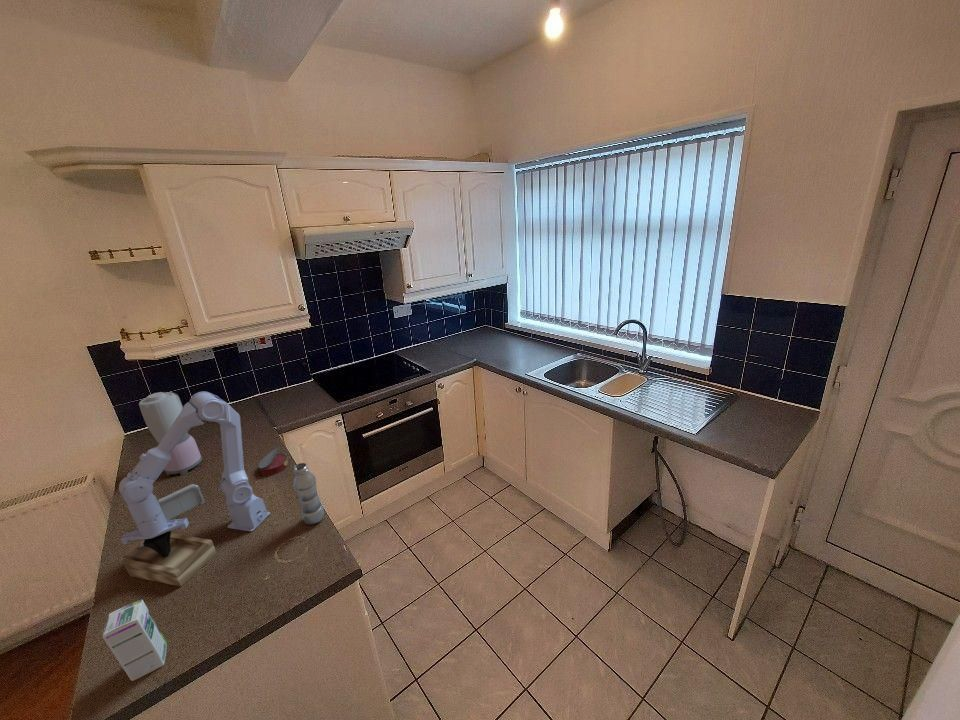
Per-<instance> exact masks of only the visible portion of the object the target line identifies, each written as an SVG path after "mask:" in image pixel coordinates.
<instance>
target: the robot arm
mask: <svg viewBox="0 0 960 720" xmlns="http://www.w3.org/2000/svg"><path fill="white" fill-rule="evenodd" d="M203 421H207V422H215V423H218V424H219V429H220V439H221V450H222V451H221V452H222V461H223V462H222V463H223V471H222V473H221V476H222V478H221V481H220V484H219V490H220V491H221V492H222V493H223V494H224V495H225V496H226V497H225V498H226V499H225V504H226V507H227V509H228V512H229V515H230V518H231V523H229V524H228V525H227V528H228V529H233V530H239V531H243V532H244V531H245V532H253V531H254V530H255V529H256V528H257V527H259V526H260V524H261V523H262V522H263V521H265V519H266V518H268V516H270V515H271V512H270V511H268V510H267V507H266V504H265V501H264V499H263V498H261V497H258V496H256V495H255V494H254V491H253V487H252V486H251V485H250V483H249V478H248V475H247V473H246V471H245V467H244V465H245V464H244V463H245V462H244V453H243V452H244V451H243V440H242V439H243V438H242V427H241V425H242V424H241V416H240V414H239V413H238V412H237V411H236V410H235V409H234V407H232V406H231V405H230V404H229V403H228V402H226V401H225V400H224V399H222V398H220V396H218V395H216V394H213V393H212V392H209V391H198V392H196V393H194V394H192V395H191V397H190V399H189V401H187V402H186V403H185V404H184V405H183V409H182V410H181V412H180V414H179V416H178V417H177V419H176V420H175V421H174V423H173V424H172V426H171V427H170V429H169V430H168V432H167V433H166V435H165V436H164V438H163V439H162V440H161V442H160V443H159V445H158V444H157V446H155V447H153V448H150V449H148V450H147V451H146V453H141V455H140V456H139V459H140V460H139V461H138V463H137V464H136V466H135V467H134V468H133V469H132V470H131V471H129V472H128V473H127V474H126V476H125V477H124V478H122V480H121V481H120V482H119V484H118V491H119V493H120V495H121V497H122V499H123V501H125V503H126V505H127V509H128V510H129V513H130V515H131V517H132V519H133V521H134V524H135V525H136V526H137V529H135V530H133V531H132V530H131V531H130V532H125V533H124V534H123V535H122V537H121V538H120V541H121V543H122V545H127V544H129V543H130V542H133V541H137V540H143V539H144V543H143V545H144V546H145V547H149V548H151V549H153V550H155V551H156V552H157V553H159V554H160V555H161V556H162V557H166V556H168V555H169V553H170V551H171V550H170V535H171V533H172V531H175V530H179V529H182V530H184V529H187V528H188V526H189V525H190V523H189V520H188V518H187V517H186V518H185V517H184V518H179V519H178V518H177V519H175V518H174V519H169V520H166V518H165V516H164V514H163V511H162V509H161V507H160V505H159V503H158V499H157V496H156V495H155V494H154V493H153V491H154V486H153V485H154V483H155V482H157V480H158V478H159V476H161V474H162V473H163V472H164V469H165V467H166V466H167V465H168V463H169V462H170V461H171V459H172V458H171V455H170V452H171V451H172V450H173V449H174V448H175V446H176V445H177V444H178V443H179V442H180V440H181V439H182V438H183V437H184V436H185V434H186V433H188V432H189V431H190V429H192V428H194V427H197V426H201V425H205V422H203Z"/></svg>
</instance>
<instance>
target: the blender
mask: <svg viewBox="0 0 960 720" xmlns="http://www.w3.org/2000/svg"><path fill="white" fill-rule="evenodd" d="M138 407H139V409H140V412H141V416H142V417H143V418H142V419H143V420H144V422H145V425H146V427H147V429H148V431H149V432H150V433H151V434H152V436H153V438H154V440H156V442H157V446H158V445H159V443H160V442H161V440H162V439H163V438H164V436H165V435H166V433H167V432H168V430H169V429H170V427H171V426H172V424H173V423H174V421H175V420H176V419H177V417H178V416H179V414H180V412H181V410H182V409H183V407H184V405H183V404H182V400H181V398H180V396H179V394H177V393H175V392H172V391H169V392H168V391H166V392H163V391H159V392H154V393H152V394H149V395H148V396H146V397H145V398H143V399H142V400H140V401H139V403H138ZM170 455H171V458H172V459H171V461H170V462H169V463H168V465H167V466H166V467H165V469H164V470H163V472H164V473H165V474H166V476H168V477H170V476H171V475H176V474H180V475H181V476H185V475H186V474H188V473H189V472H188V471H189V470H191V469H193V468H195V467H196V466H198V465H199V464H200V463H201V462H203V458H202V457H203V456H202V455H201V453H200V449H199V448H198V445H197V442H196V439H195V438H194V437H193V436H192V435H191V434H189V433H188V432H187V433H186V434H185V436H184V437H183V438H182V439H181V440H180V442H179V443H178V444H177V445H176V446H175V448H174V449H173V450H172V451H171V452H170Z"/></svg>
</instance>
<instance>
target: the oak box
mask: <svg viewBox="0 0 960 720" xmlns="http://www.w3.org/2000/svg"><path fill="white" fill-rule="evenodd" d="M170 538H173V539H176V540H177V542H178V543H177V544H176V545H175V546H174V547H173V548H171V549H170V550H171V551H170V553H169V555H168V556H166V557H161V558H159V559H158V560H157V561H156V562H155V563H154V564H150V563H144V562H139V561H134V560H129V559H128V560H127V559H126V560H125V561H123V565H124V566H125V567H124V568H125V569H126V570H127V573H128V575H129V577H132V578H134V577H135V578H139V579H143V580H148V581H152V582H156V583H157V582H158V583H162V584H167V585H171V586H177V587H183V586H184V585H185V583H187V582H188V581H189V580H190V579H191V578H192V577H193V576H194V575H195V574H196V573H197V572H198V571H199V570H201V568H203V566H205V565H206V564H207V563H208V562H209V561H210V560H211V559H212V558H213V557H214V556H215V555H216V554H217V553H218V552H217V550H216V547H215V546H214V545H215V544H214V543H213V540H212V539H208V538H201V537H196V536H189V535H184V534H178V533H172V532H171V535H170Z"/></svg>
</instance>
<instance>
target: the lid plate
mask: <svg viewBox="0 0 960 720" xmlns="http://www.w3.org/2000/svg"><path fill="white" fill-rule="evenodd" d="M143 543H144V539H141V540H140V541H139V542H138V543H137V544H135V545H133V547H131V549H129V550H128V551H126V552H125V553H123V555H122V557H123V558H124V560H126V561H127V560H128V559H129V560H134V561H139V562H144V563H150V564H154V563H155V562H156V561H157V560H158V559H159V558H161V557H162V556H161V555H160V554H159V553H157V552H156V551H155V550H153V549H151V548H149V547H145V546H144V545H143ZM177 543H178V542H177V540H176V539H173V538H170V549H171V548H173V547H174V546H175V545H176V544H177Z"/></svg>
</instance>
